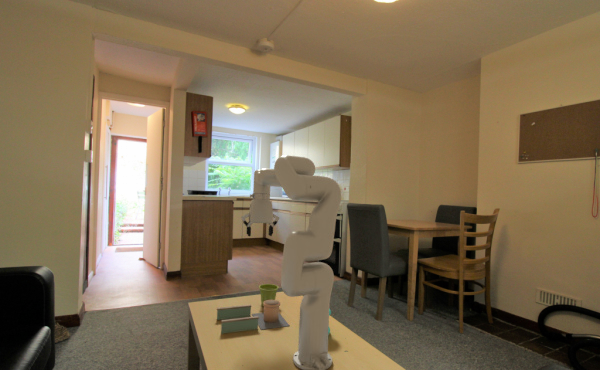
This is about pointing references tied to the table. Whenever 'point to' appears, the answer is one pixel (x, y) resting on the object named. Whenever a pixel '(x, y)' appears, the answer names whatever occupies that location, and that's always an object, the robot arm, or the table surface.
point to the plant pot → (268, 292)
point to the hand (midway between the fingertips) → (259, 235)
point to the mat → (268, 325)
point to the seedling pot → (271, 310)
